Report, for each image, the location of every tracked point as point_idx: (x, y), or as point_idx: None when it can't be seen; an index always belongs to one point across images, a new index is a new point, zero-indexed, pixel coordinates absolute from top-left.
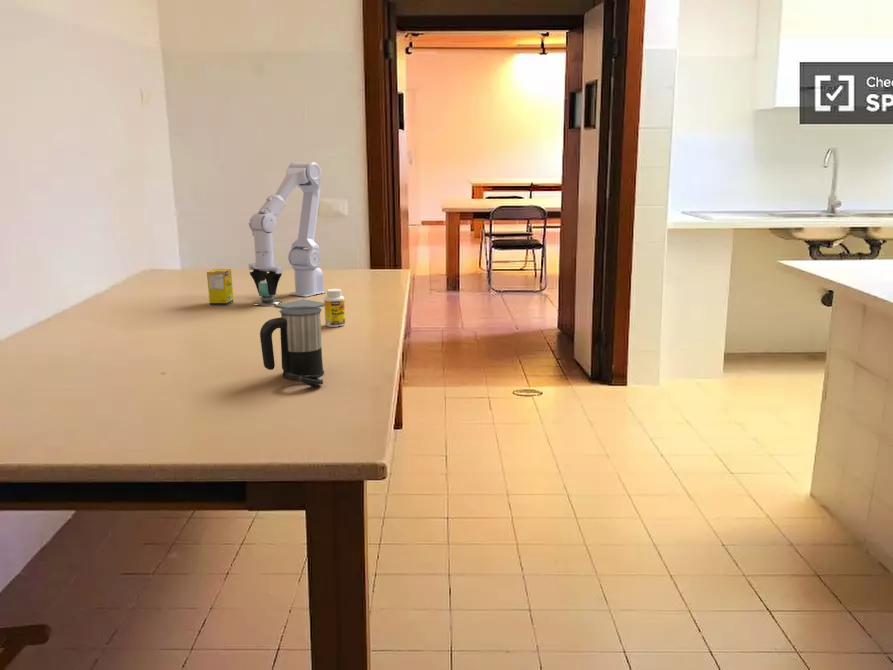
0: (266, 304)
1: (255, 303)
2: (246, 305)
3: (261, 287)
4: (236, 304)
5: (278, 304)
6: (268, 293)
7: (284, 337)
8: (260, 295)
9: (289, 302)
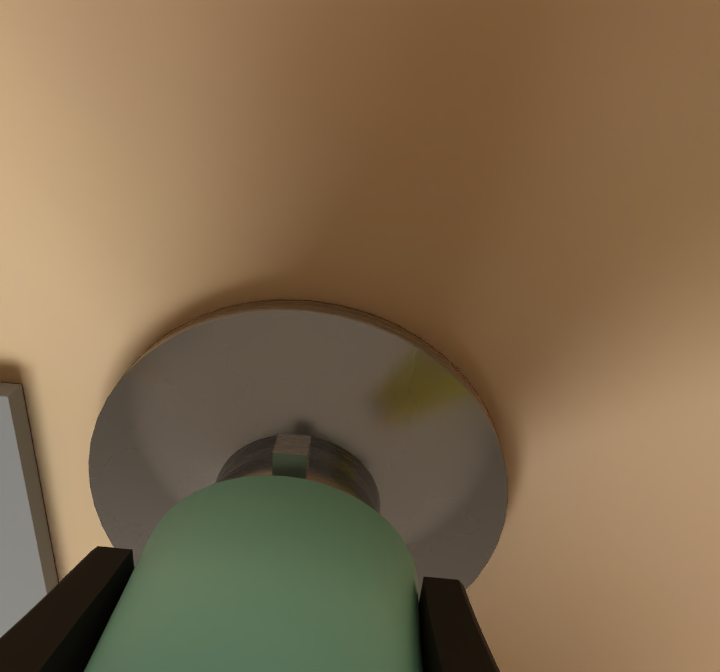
0: (133, 366)
1: (343, 330)
2: (480, 239)
3: (198, 624)
4: (714, 209)
5: (11, 454)
6: (138, 568)
7: None
8: (293, 485)
9: (24, 592)
